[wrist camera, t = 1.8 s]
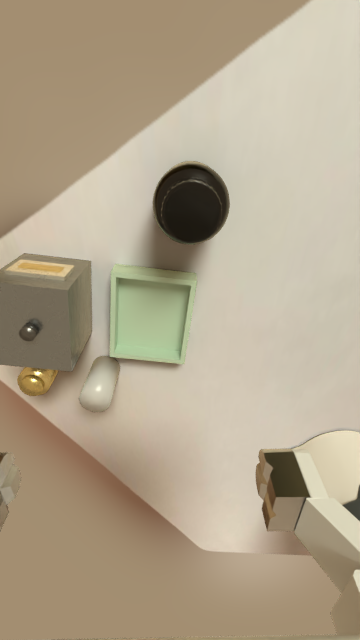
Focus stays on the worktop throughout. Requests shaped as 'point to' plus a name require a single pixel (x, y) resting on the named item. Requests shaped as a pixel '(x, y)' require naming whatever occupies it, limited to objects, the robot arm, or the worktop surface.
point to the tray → (150, 313)
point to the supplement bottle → (191, 203)
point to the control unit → (44, 311)
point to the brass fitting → (36, 380)
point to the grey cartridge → (100, 384)
